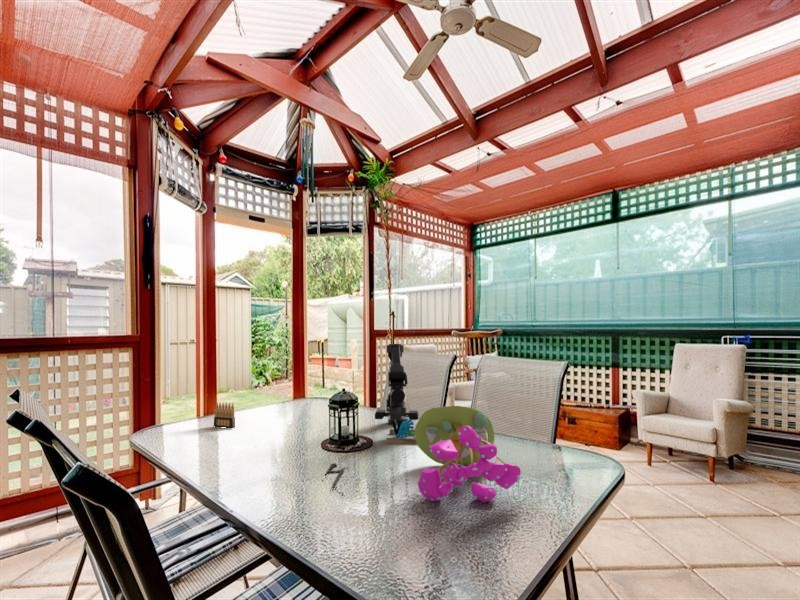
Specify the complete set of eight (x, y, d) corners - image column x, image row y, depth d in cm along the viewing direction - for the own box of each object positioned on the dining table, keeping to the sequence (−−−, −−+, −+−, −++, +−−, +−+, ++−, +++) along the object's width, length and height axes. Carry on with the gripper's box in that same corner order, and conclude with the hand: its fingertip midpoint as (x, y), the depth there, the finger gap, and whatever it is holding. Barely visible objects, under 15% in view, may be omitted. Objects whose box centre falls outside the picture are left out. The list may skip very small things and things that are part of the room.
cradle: (389, 433, 169) (389, 426, 169) (433, 434, 168) (433, 427, 168) (386, 443, 155) (386, 436, 155) (435, 444, 154) (435, 437, 154)
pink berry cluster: (488, 380, 129) (510, 422, 94) (509, 457, 131) (537, 526, 96) (405, 401, 132) (396, 448, 97) (426, 476, 134) (425, 548, 99)
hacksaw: (331, 466, 132) (331, 462, 132) (360, 467, 130) (360, 463, 131) (306, 498, 108) (306, 492, 108) (341, 500, 107) (341, 494, 107)
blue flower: (389, 432, 166) (403, 414, 170) (396, 439, 169) (410, 422, 172) (403, 442, 157) (417, 423, 160) (410, 449, 159) (424, 431, 163)
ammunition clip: (213, 427, 179) (214, 402, 180) (216, 426, 181) (216, 401, 182) (232, 429, 176) (233, 403, 177) (235, 428, 178) (235, 402, 179)
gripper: (373, 401, 156) (372, 440, 154) (418, 402, 154) (417, 441, 153) (376, 396, 167) (376, 432, 166) (418, 397, 165) (418, 433, 164)
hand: (396, 434), depth 162 cm, fingers closed
